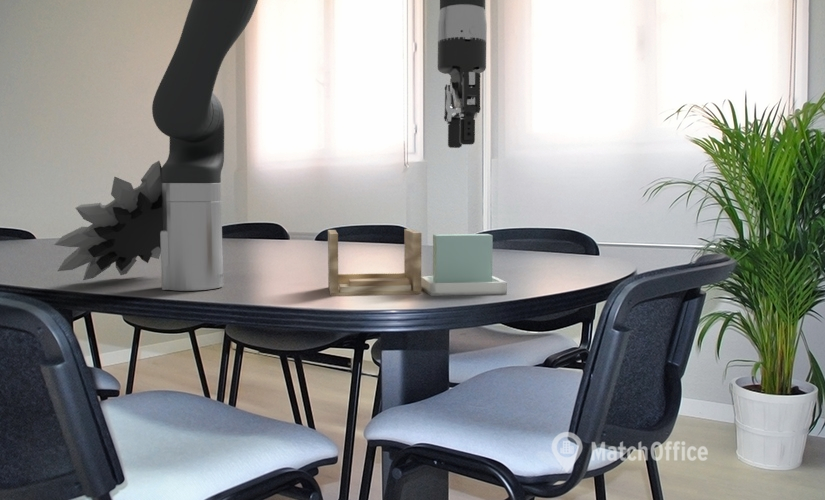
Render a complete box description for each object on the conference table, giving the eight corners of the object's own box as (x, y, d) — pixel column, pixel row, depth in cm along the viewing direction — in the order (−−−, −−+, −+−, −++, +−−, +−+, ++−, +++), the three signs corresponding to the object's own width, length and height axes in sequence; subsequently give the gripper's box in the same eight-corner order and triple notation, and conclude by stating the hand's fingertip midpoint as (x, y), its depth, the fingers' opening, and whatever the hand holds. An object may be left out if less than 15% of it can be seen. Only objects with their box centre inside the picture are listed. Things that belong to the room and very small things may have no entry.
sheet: (436, 289, 105) (436, 235, 104) (432, 287, 108) (433, 234, 107) (492, 288, 106) (492, 235, 106) (487, 285, 109) (487, 234, 109)
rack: (330, 296, 102) (329, 233, 101) (328, 287, 112) (327, 229, 111) (421, 294, 104) (421, 232, 103) (411, 285, 114) (411, 229, 113)
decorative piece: (93, 314, 124) (29, 242, 97) (82, 299, 125) (16, 223, 98) (231, 226, 135) (208, 140, 108) (220, 213, 136) (195, 124, 110)
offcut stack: (340, 292, 103) (340, 281, 103) (339, 289, 106) (339, 279, 105) (411, 290, 104) (411, 280, 104) (408, 287, 107) (408, 277, 107)
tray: (430, 296, 102) (430, 283, 102) (420, 288, 111) (420, 276, 111) (506, 295, 104) (507, 282, 104) (491, 286, 113) (491, 275, 112)
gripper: (429, 49, 110) (429, 148, 112) (447, 28, 96) (446, 142, 98) (474, 50, 111) (473, 149, 113) (498, 30, 97) (496, 143, 99)
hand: (460, 146), depth 105 cm, fingers open, 8 cm apart
